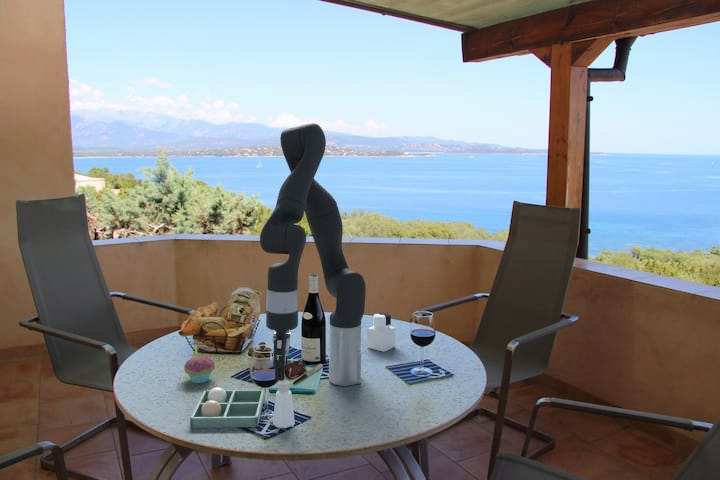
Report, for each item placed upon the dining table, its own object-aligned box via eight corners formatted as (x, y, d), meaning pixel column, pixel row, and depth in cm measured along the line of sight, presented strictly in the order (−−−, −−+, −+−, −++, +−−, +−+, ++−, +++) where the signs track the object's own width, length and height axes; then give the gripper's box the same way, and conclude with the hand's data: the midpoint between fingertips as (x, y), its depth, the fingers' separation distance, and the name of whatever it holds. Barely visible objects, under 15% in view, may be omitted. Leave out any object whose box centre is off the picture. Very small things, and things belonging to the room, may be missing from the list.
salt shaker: (281, 417, 137) (281, 376, 136) (299, 423, 135) (299, 381, 133) (267, 426, 133) (267, 383, 131) (285, 432, 130) (285, 388, 128)
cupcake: (206, 388, 153) (205, 347, 152) (178, 385, 155) (177, 345, 153) (220, 377, 162) (219, 338, 160) (193, 374, 163) (192, 335, 162)
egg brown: (223, 414, 137) (222, 396, 136) (219, 423, 132) (219, 405, 131) (203, 414, 137) (203, 396, 136) (199, 424, 132) (198, 405, 131)
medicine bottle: (378, 342, 195) (379, 310, 193) (395, 346, 191) (396, 313, 189) (367, 347, 189) (367, 314, 187) (384, 352, 185) (385, 318, 183)
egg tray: (264, 400, 147) (264, 389, 146) (257, 429, 131) (257, 417, 131) (204, 400, 146) (204, 390, 145) (190, 430, 130) (190, 418, 130)
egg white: (228, 401, 144) (227, 384, 144) (225, 409, 140) (224, 391, 139) (209, 401, 144) (209, 384, 143) (205, 409, 139) (205, 392, 139)
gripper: (296, 316, 123) (295, 385, 125) (299, 300, 137) (298, 362, 139) (262, 315, 122) (262, 384, 125) (269, 299, 136) (269, 361, 139)
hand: (281, 372), depth 132 cm, fingers open, 8 cm apart
